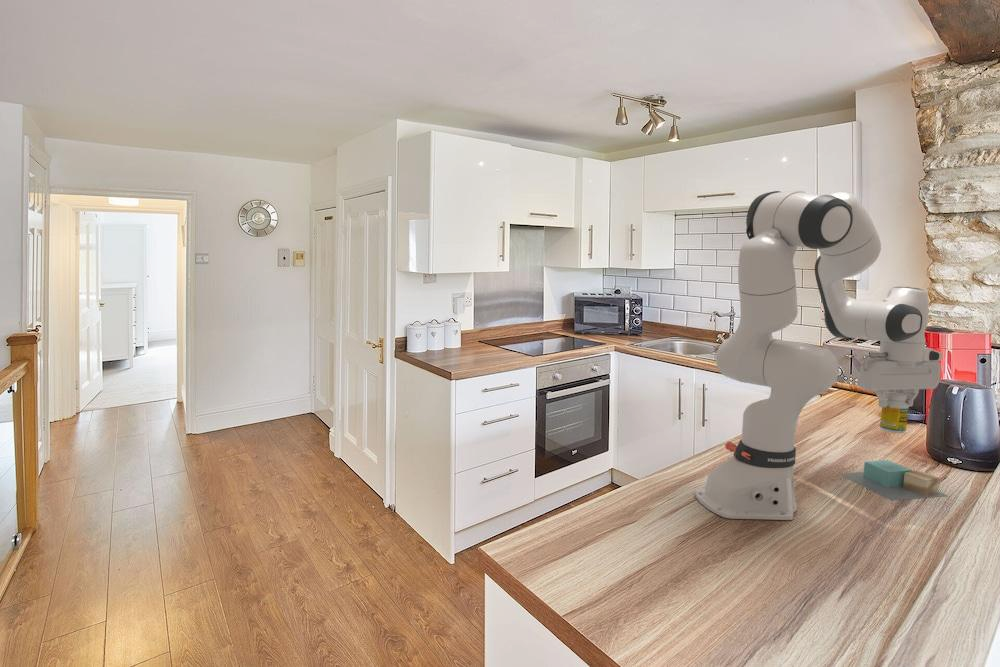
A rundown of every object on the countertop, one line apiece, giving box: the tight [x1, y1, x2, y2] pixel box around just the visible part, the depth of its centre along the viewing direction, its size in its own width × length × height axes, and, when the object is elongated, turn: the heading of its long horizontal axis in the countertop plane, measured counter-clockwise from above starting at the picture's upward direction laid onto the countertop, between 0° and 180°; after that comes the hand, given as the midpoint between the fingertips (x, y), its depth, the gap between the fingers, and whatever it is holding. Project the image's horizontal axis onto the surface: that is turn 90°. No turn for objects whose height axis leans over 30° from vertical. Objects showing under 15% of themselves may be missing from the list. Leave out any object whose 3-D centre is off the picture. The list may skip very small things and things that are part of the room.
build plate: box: [838, 471, 949, 502], centre depth 132 cm, size 16×16×1 cm
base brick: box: [863, 459, 914, 487], centre depth 134 cm, size 7×7×4 cm
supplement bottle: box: [879, 391, 909, 434], centre depth 132 cm, size 5×5×10 cm
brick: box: [903, 469, 941, 496], centre depth 128 cm, size 5×5×4 cm
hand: (895, 406), depth 131 cm, fingers closed on supplement bottle, 5 cm apart
